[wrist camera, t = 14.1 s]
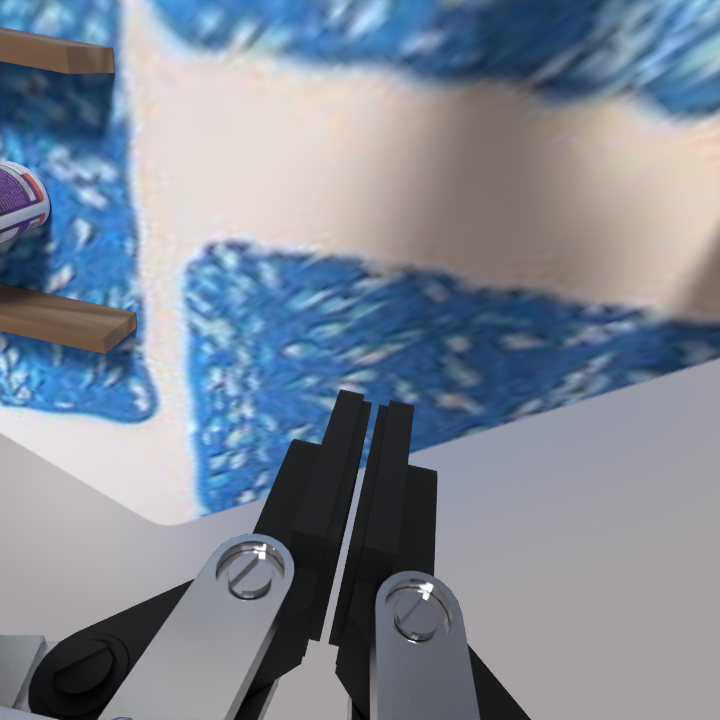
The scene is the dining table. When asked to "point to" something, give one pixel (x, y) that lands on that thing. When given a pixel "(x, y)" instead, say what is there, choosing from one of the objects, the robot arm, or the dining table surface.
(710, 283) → the dining table surface
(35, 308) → the box
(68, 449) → the dining table surface
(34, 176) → the pill bottle
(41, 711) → the robot arm
